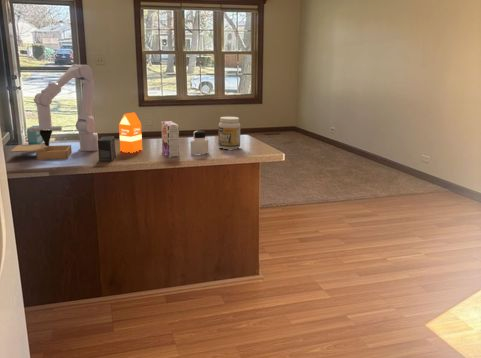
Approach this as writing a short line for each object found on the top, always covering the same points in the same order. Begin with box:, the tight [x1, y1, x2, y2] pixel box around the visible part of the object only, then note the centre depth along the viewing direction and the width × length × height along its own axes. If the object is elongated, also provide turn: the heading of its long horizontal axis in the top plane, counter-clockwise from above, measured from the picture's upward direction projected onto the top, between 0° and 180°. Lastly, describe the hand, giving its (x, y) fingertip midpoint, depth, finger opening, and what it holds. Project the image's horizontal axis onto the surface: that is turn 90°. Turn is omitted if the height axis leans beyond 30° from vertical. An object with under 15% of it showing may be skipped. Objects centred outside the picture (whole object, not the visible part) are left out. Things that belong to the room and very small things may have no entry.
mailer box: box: [35, 144, 73, 161], centre depth 224 cm, size 14×14×4 cm
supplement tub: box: [217, 116, 241, 150], centre depth 248 cm, size 12×12×17 cm
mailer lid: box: [10, 141, 48, 153], centre depth 221 cm, size 15×15×3 cm
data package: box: [26, 125, 44, 145], centre depth 238 cm, size 12×4×12 cm, turn 7°
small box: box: [97, 135, 117, 163], centre depth 219 cm, size 11×6×10 cm, turn 5°
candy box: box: [160, 120, 180, 158], centre depth 230 cm, size 14×6×16 cm, turn 23°
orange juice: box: [118, 112, 143, 154], centre depth 237 cm, size 8×9×20 cm
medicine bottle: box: [190, 130, 209, 156], centre depth 234 cm, size 7×7×12 cm
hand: (47, 145), depth 223 cm, fingers closed
